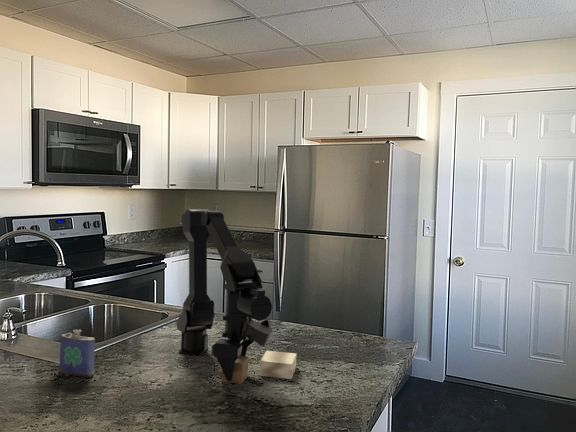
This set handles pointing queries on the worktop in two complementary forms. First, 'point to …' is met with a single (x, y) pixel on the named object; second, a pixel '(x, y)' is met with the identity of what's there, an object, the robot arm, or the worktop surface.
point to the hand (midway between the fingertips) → (235, 373)
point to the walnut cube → (239, 371)
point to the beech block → (278, 364)
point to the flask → (77, 354)
